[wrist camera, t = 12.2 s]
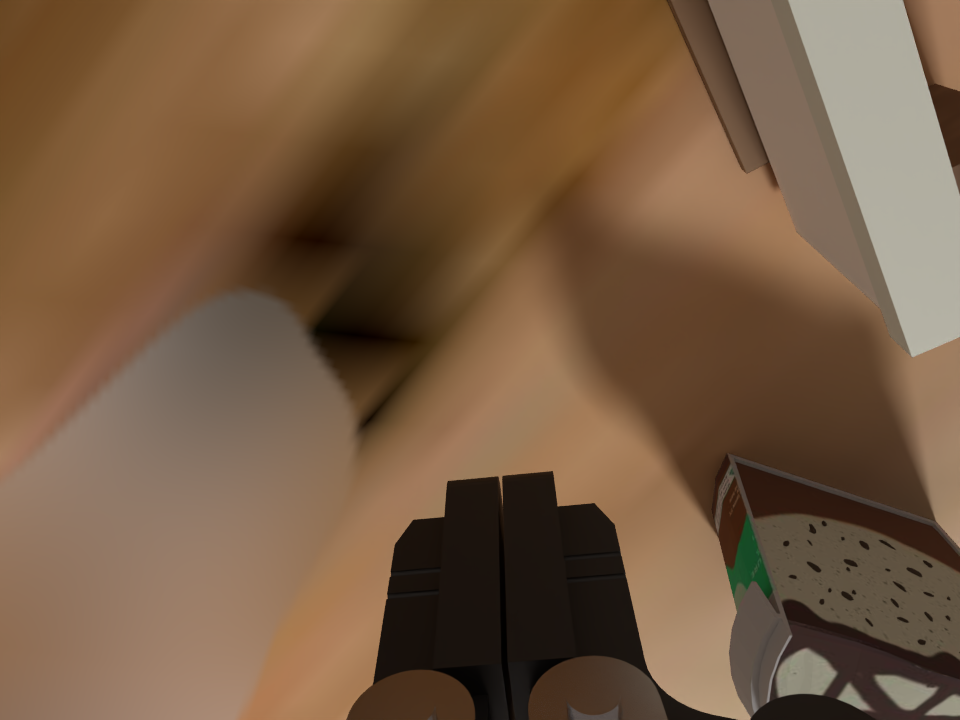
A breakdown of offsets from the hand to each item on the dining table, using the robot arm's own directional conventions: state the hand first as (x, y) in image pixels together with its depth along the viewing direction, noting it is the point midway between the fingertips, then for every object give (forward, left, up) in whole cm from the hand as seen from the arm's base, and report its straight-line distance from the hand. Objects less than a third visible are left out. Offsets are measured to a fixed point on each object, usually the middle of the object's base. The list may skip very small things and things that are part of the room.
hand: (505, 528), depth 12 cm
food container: (-4, +19, -18) cm, 27 cm away
